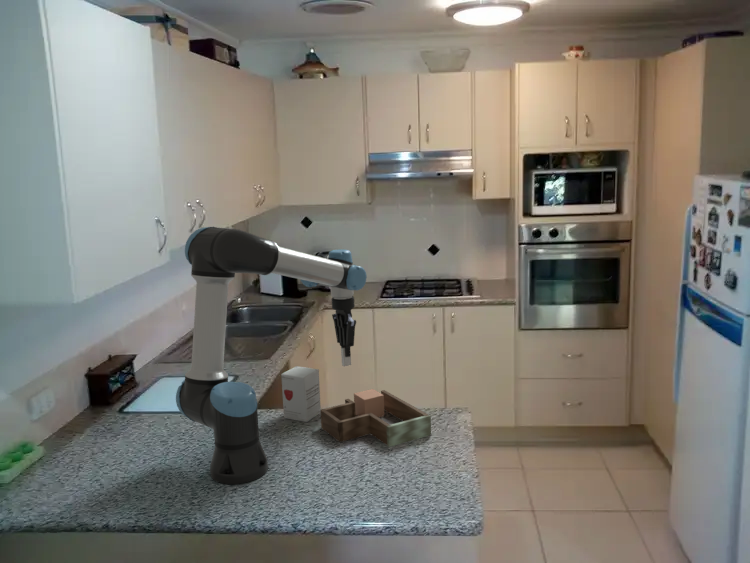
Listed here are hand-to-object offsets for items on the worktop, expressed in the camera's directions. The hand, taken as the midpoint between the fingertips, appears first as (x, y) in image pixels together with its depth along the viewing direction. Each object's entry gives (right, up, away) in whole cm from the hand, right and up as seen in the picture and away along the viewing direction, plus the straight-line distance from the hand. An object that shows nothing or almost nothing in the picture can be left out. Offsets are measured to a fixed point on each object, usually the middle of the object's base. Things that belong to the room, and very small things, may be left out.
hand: (346, 365), depth 228 cm
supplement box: (-14, -15, -9) cm, 23 cm away
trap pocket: (+1, -17, -22) cm, 28 cm away
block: (+8, -15, -11) cm, 20 cm away
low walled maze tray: (+13, -16, -20) cm, 29 cm away
